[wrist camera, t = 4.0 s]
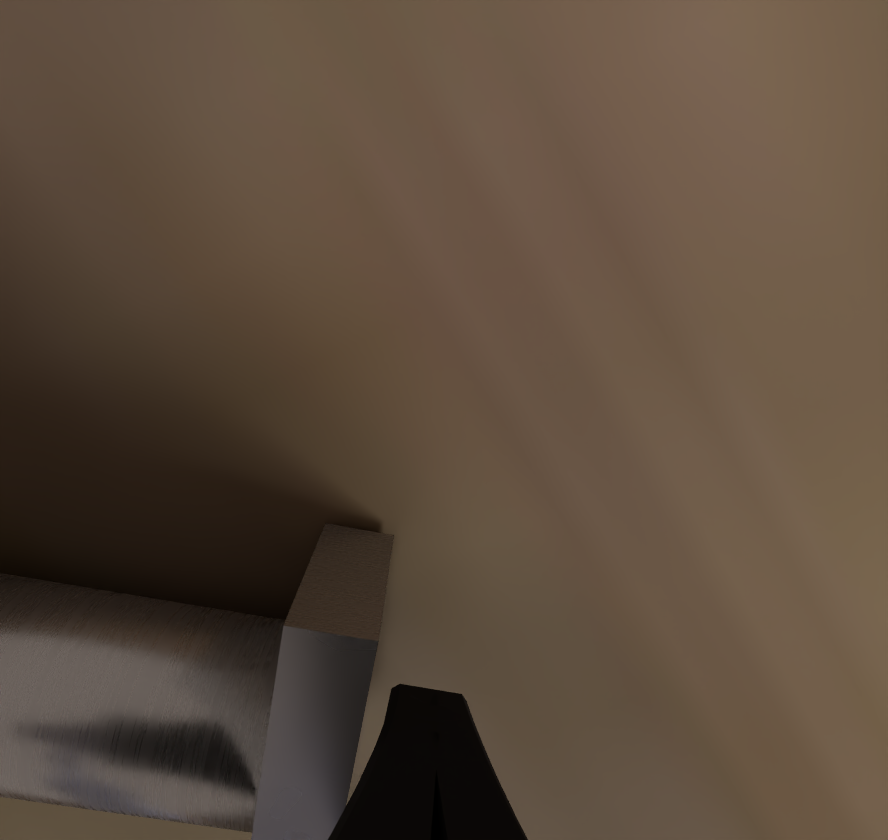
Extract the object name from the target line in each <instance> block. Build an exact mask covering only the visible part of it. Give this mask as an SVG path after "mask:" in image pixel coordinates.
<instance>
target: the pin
mask: <svg viewBox="0 0 888 840" xmlns="http://www.w3.org/2000/svg"><path fill="white" fill-rule="evenodd" d="M393 539H394V535H390V534H384V533H378V532H373V531H367V530H361V529H356V528H350V527H344V526H339V525H333V524H327V523H325V526H324V528H323V530H322V533H321V535H320V538H319V540H318V543H317V545H316V547H315V550H314V552H313V555H312V557H311V560H310V562H309V564H308V567H307V569H306V572H305V574H304V577H303V579H302V581H301V584H300V586H299V589H298V591H297V594H296V596H295V598H294V601H293V603H292V606H291V608H290V611H289V613H288V616H287V618H286V620H281V619H275V618H269V617H263V616H257V615H251V614H245V613H239V612H233V611H227V610H221V609H215V608H208V607H202V606H196V605H190V604H184V603H178V602H172V601H166V600H160V599H154V598H148V597H142V596H136V595H130V594H124V593H118V592H112V591H106V590H100V589H93V588H87V587H81V586H75V585H69V584H63V583H57V582H51V581H45V580H39V579H33V578H27V577H21V576H15V575H9V574H3V573H0V797H5V798H12V799H19V800H26V801H33V802H40V803H47V804H54V805H61V806H68V807H75V808H82V809H89V810H96V811H103V812H110V813H117V814H124V815H131V816H139V817H146V818H153V819H160V820H167V821H174V822H181V823H188V824H195V825H202V826H209V827H216V828H223V829H230V830H237V831H244V832H251V833H252V838H251V840H328V838H329V836H330V835H331V833H332V831H333V829H334V827H335V826H336V824H337V822H338V820H339V818H340V816H341V815H342V813H343V811H344V809H345V807H346V803H347V797H348V792H349V787H350V782H351V777H352V772H353V767H354V762H355V757H356V752H357V747H358V742H359V737H360V732H361V727H362V721H363V716H364V711H365V706H366V701H367V696H368V691H369V686H370V681H371V676H372V671H373V666H374V661H375V656H376V651H377V645H378V640H379V633H380V627H381V620H382V613H383V606H384V600H385V593H386V586H387V579H388V573H389V566H390V559H391V553H392V546H393Z"/></svg>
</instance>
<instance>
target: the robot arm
mask: <svg viewBox="0 0 888 840" xmlns="http://www.w3.org/2000/svg"><path fill="white" fill-rule="evenodd" d="M328 840H528V839H527V837H526V835H525V833H524V831H523V829H522V827H521V826H520V824H519V822H518V820H517V818H516V816H515V814H514V811H513V809H512V807H511V805H510V803H509V801H508V799H507V797H506V795H505V793H504V791H503V789H502V787H501V784H500V782H499V780H498V778H497V776H496V774H495V771H494V769H493V767H492V765H491V762H490V760H489V758H488V755H487V753H486V751H485V748H484V746H483V744H482V741H481V739H480V736H479V734H478V731H477V729H476V726H475V723H474V721H473V718H472V715H471V713H470V710H469V707H468V704H467V701H466V700H465V698H464V697H463V695H462V694H458V693H452V692H446V691H440V690H434V689H428V688H422V687H416V686H410V685H404V684H399V685H397V686H395V687H393V688H392V689H391V693H390V698H389V703H388V707H387V712H386V716H385V721H384V725H383V727H382V730H381V733H380V735H379V738H378V741H377V743H376V746H375V748H374V750H373V752H372V755H371V757H370V759H369V761H368V763H367V765H366V768H365V770H364V772H363V774H362V776H361V778H360V781H359V783H358V785H357V787H356V789H355V791H354V793H353V795H352V796H351V798H350V800H349V802H348V804H347V805H346V807H345V809H344V811H343V813H342V815H341V816H340V818H339V820H338V822H337V824H336V826H335V827H334V829H333V831H332V833H331V835H330V836H329V838H328Z"/></svg>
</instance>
